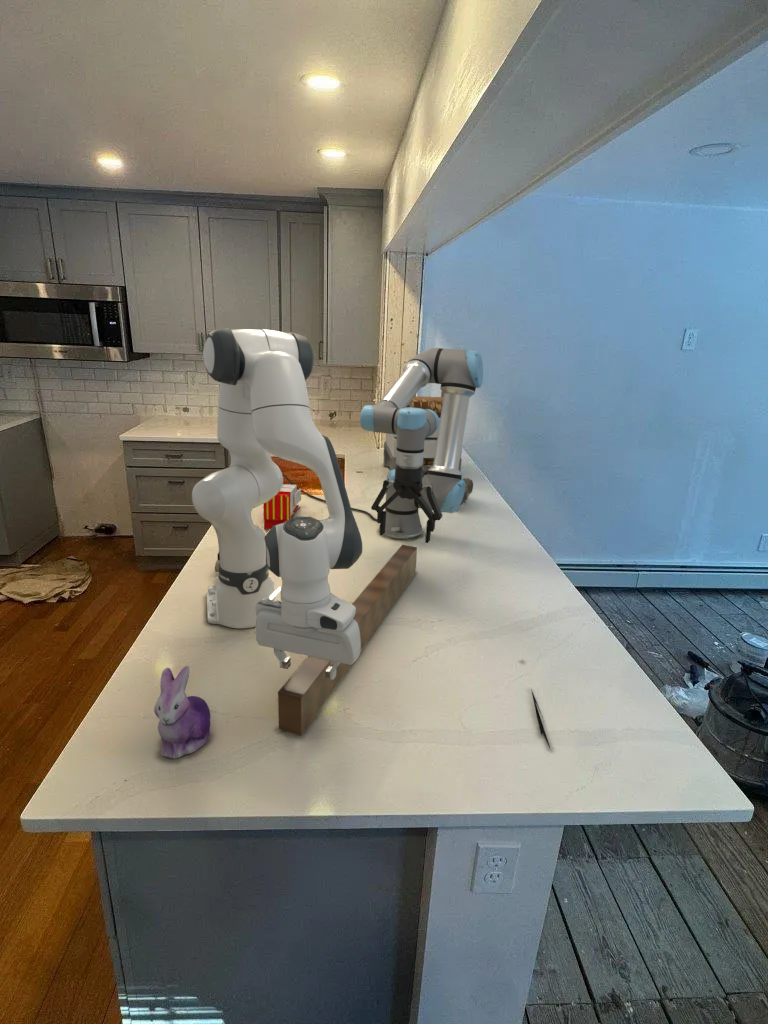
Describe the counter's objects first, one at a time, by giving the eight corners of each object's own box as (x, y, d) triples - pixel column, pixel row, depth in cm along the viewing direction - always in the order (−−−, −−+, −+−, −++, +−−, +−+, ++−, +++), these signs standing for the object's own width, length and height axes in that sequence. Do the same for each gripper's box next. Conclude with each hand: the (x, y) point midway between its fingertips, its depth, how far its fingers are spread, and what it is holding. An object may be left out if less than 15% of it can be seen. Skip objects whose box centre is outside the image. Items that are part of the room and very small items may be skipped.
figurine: (162, 769, 95) (153, 695, 90) (154, 730, 104) (146, 661, 99) (219, 752, 99) (214, 680, 94) (207, 716, 108) (202, 648, 103)
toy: (303, 479, 223) (293, 493, 194) (302, 513, 226) (293, 531, 196) (272, 479, 223) (257, 492, 193) (272, 512, 225) (258, 530, 196)
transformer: (382, 463, 289) (386, 382, 275) (445, 464, 293) (451, 384, 279) (390, 482, 257) (394, 392, 243) (460, 483, 261) (468, 394, 247)
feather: (522, 665, 130) (528, 659, 129) (549, 752, 103) (556, 745, 103) (516, 662, 130) (522, 655, 129) (542, 747, 103) (549, 740, 103)
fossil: (437, 484, 244) (466, 465, 239) (450, 500, 247) (479, 482, 242) (436, 505, 224) (468, 485, 219) (450, 523, 227) (482, 504, 222)
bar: (400, 570, 172) (402, 544, 170) (415, 572, 171) (417, 547, 168) (278, 729, 106) (277, 691, 103) (301, 736, 104) (301, 698, 101)
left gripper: (246, 605, 103) (250, 670, 107) (351, 625, 96) (351, 693, 101) (263, 590, 108) (267, 652, 113) (364, 608, 102) (363, 673, 107)
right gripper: (361, 463, 155) (359, 534, 162) (450, 475, 148) (444, 549, 155) (371, 457, 162) (368, 526, 169) (456, 468, 154) (450, 540, 161)
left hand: (308, 672), depth 107 cm, fingers open, 8 cm apart
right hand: (404, 537), depth 162 cm, fingers open, 13 cm apart
